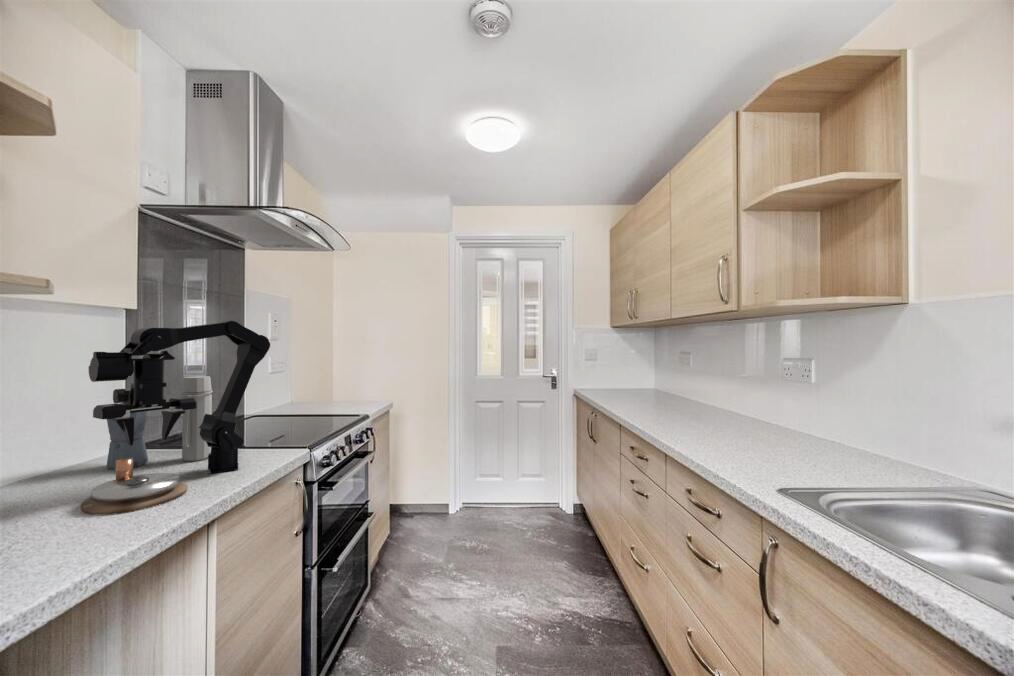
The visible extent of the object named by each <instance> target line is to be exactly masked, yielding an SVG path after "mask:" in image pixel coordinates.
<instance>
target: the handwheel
mask: <svg viewBox="0 0 1014 676" xmlns="http://www.w3.org/2000/svg"><path fill="white" fill-rule="evenodd" d="M179 482H180V475H179V474H177V473H173V472H153V473H151V472H150V473H143V474H137V475H134V467H133V458H123V459H118V460H116V470H115V479H112V480H110V481H107V482H103V483H101V484H98V485H96V486H94V487H92V489H91V491H90V497H91V499H92V500H93V501H97V502H119V501H128V500H134V499H140V498H144V497H149V496H153V495H156V494H160V493H163V492H166V491H168V490H171V489H173V488H175V487H176V486H178V484H179Z"/></svg>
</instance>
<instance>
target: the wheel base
mask: <svg viewBox="0 0 1014 676" xmlns="http://www.w3.org/2000/svg"><path fill="white" fill-rule="evenodd" d="M187 490H188V484H187V483H185V482H183V481H182V482H181V481H179V484H178V486H176V487H175V488H173V489H171V490H168V491H166V492H163V493H160V494H156V495H153V496H149V497H144V498H140V499H134V500H128V501H119V502H97V501H93V500H92V499H91V496H89V497H87V498H86V499H84V500H83V501H82V502H80V511H81V513H83V514H86V515H87V514H88V515H94V514H106V515H115V514H114V513H117V514H123V513H122V512H125V513H130V512H129V511H131V512H135V510H137V511H139V510H140V509H142V510H145V509H144V508H146V509H149V508H148V507H150V508H154V507H157V506H156V505H158V506H160V505H159V504H161V505H164V504H167V503H169V501H170V502H172V501H174V499H175V500H176V498H177V499H178V497H179V498H181V497H183V496H184V495H185V494H186V493H187ZM183 494H184V495H183ZM180 496H181V497H180ZM171 500H172V501H171ZM166 502H167V503H166ZM163 503H164V504H163ZM153 506H154V507H153Z"/></svg>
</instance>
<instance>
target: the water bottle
mask: <svg viewBox="0 0 1014 676" xmlns="http://www.w3.org/2000/svg"><path fill="white" fill-rule="evenodd" d="M211 381H212V380H211V376H208V375H207V376H206V375H205V376H204V375H201V376H200V375H199V376H198V375H197V376H183V381H182V388H181V393H180V396H181V397H190V398H194V399H195V400H196V402H197V408H196V409H189V410H182V411H185V413H184V414H182V417H181V418H182V419H181V420H182V424H181V425H182V427H181V429H182V430H181V431H182V432H181V433H182V434H181V436H182V437H181V439H182V442H181V448H182V449H181V460H183V461H185V462H190V461H192V462H200V461H204V460H206V459H207V460H208V455H209V453H211V448H212V447H208V445H207V443H206V441H204V440H203V439H202V438H201V436H200V430H201V429H200V428H199V427H200V425H201V424H202V422H203V419H204V416H205V414H210V415H211V414H212V412H213V411H212V409H213V407H212V405H213V403H212V401H213V396H212V393H213V392H214V391H213V389H212V382H211ZM199 460H200V461H199Z"/></svg>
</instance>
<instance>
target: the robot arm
mask: <svg viewBox="0 0 1014 676" xmlns="http://www.w3.org/2000/svg"><path fill="white" fill-rule="evenodd" d="M222 336H223V337H224V336H225V337H226V338H228V339H229V341H230V342H231V343H233V344H234V345H236V346H237V348H236V349H237V350H236V364H235V365H234V368H233V371H232V373H231V374H230V375H231V376H230V377H229V380H228V382H227V385H226V388H225V389H224V392H223V394H222V396H221V399H220V401H219V404H218V406H217V408H216V410H215V411H212V412H213V413H212V414H211V415H210V414H205V416H204V419H203V422H202V424H201V425H200V427H199V428H200V429H201V430H200V436H201V438H202V439H203V440H204V441H206V443H207V445H208V447H211V453H209V455H208V458H207V470H208V471H209V474H215V473H223V472H231V471H232V472H233V471H238V470H239V448H242V446H243V444H244V441H245V440H244V438H242V437H241V436H239V435H238V434H237V433H235V432H236V429H237V411H238V408H239V407H240V404H241V401H242V399H243V396H244V394H245V392H246V389H247V388H248V385H249V382H250V380H251V377H252V375H253V373H254V371H255V368H256V366H257V365H258V364H259V363H260V362H261V361H262V360H263V359H264V358H265V357H266V356H267V353H268V352H269V350H270V348H271V342H270V340H269V338H268V337H267V336H265V335H262V334H258V333H257V332H256V331H253V330H252V329H249V328H248V327H246V326H244V325H242V324H240V323H239V322H237V321H235V320H223V321H221V322H215V323H207V324H198V325H191V326H185V327H142V328H138V329H136V330H134V332H133V333H132V334H131V336H130V341H129V342H128V343H127V344H126V345H125V346H124V347H123V348H122V349H121V350H119V352H106V351H94V352H93V353H92V358H91V360H90V364H89V365H88V376H89V379H90V382H92V383H96V382H97V383H98V382H113V381H126V380H127V379H128V378H129V377H131V376H133V382H131V383H130V384H131V385H130V389H129V390H127V389H125V388H118V389H117V388H115V389H114V390H113V391H112V402H113V403H106V404H98V405H95V407H94V408H93V410H92V418H94V419H98V420H107V419H108V420H112V421H115V422H116V423H117V424H118V425H119V427H120V428H121V430H122V432H123V434H124V436H125V438H126V440H127V443H128V445H129V446H132V445H133V441H134V418H133V417H130V413H135V412H144V411H147V412H149V411H151V412H152V411H159V410H161V415H162V427H161V439H162V441H166V440H167V438H169V435H170V433H171V431H172V429H173V427H174V426H175V424H176V423H177V421H178V420H179V419H180V417H181V416H182V415H183V414H184V413H185V411H183V410H189V409H196V408H197V402H196V400H195V399H194V398H190V397H183V396H181V397H171V398H169V399H168V401H167V398H165V397H164V395H165V391H164V390H165V388H167V382H165V361H174V360H176V357H175V356H174V355H172V354H171V353H170V352H169V351H168V350H166V349H169V348H172V347H175V346H177V345H180V344H183V343H185V342H190V341H191V342H193V341H199V340H205V339H210V338H218V337H222ZM159 351H161V352H159ZM151 352H159V353H151ZM133 356H142V357H136V358H133ZM120 403H123V405H122V404H120Z"/></svg>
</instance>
